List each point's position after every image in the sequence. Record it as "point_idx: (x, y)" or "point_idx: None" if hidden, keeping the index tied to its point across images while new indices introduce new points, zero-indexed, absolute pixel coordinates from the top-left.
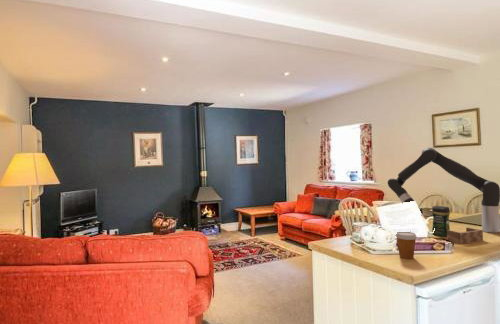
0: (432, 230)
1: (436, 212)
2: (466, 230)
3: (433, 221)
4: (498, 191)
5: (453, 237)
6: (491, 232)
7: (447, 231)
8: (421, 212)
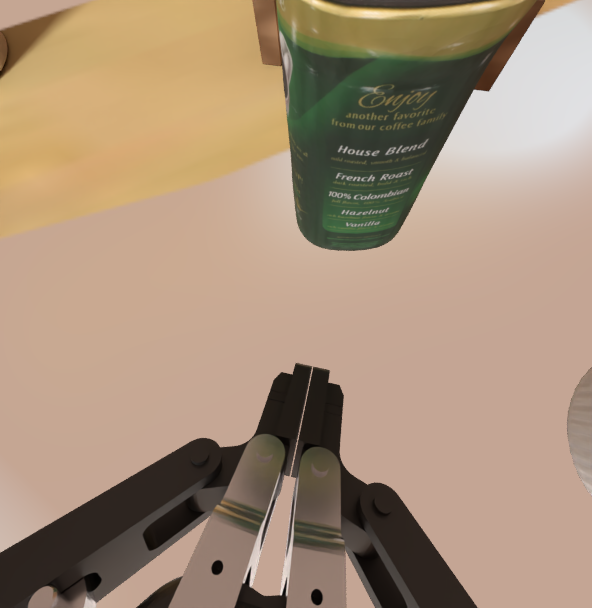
0: (400, 225)
1: None
2: (274, 5)
3: (442, 144)
4: None
5: None
6: (5, 41)
7: (538, 7)
8: (173, 481)
